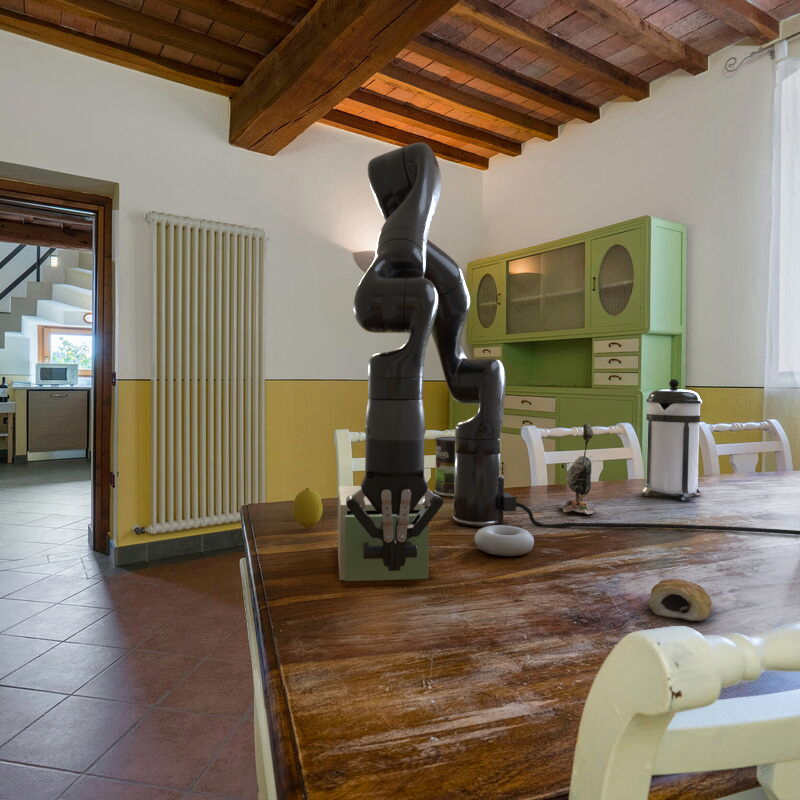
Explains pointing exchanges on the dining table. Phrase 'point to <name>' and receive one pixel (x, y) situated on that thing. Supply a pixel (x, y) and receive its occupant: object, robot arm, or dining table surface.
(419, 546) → the drawer
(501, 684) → the dining table surface
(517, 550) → the donut
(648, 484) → the coffee press
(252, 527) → the dining table surface
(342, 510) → the small bedside cabinet
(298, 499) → the lemon
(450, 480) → the coffee can
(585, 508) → the stone sculpture
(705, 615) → the pastry
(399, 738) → the dining table surface
